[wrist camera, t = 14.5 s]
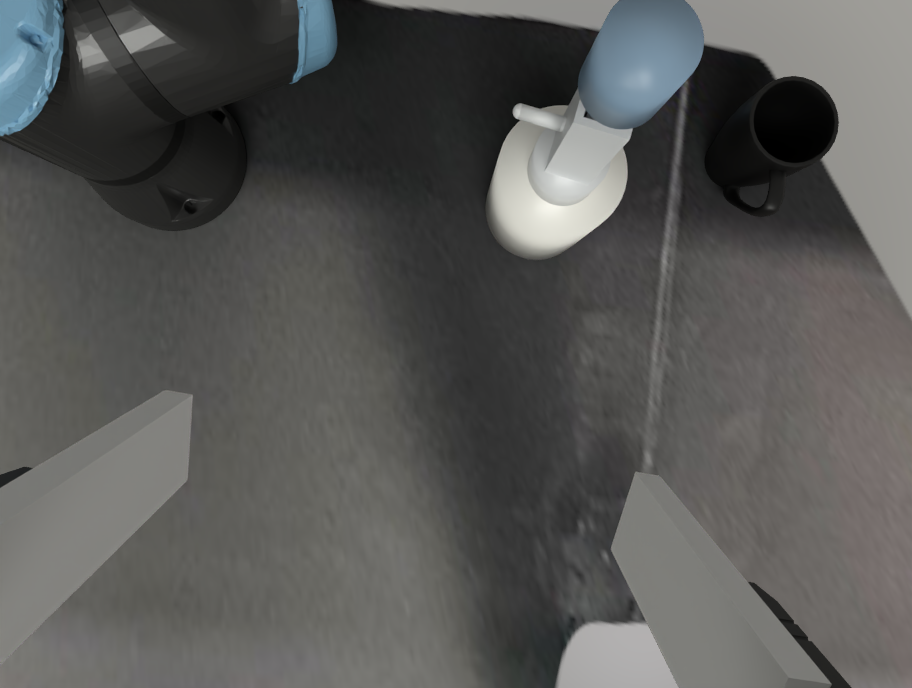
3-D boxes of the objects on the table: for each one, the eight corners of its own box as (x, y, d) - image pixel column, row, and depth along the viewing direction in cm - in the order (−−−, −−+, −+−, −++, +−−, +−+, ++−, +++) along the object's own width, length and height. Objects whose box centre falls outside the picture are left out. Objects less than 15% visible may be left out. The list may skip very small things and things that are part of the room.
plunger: (535, 173, 36) (589, 73, 23) (553, 110, 36) (618, -25, 23) (598, 192, 36) (687, 104, 23) (616, 129, 36) (715, 6, 23)
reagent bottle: (472, 243, 51) (498, 162, 29) (501, 145, 51) (548, -10, 29) (571, 272, 51) (670, 215, 29) (599, 174, 51) (719, 43, 29)
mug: (677, 224, 51) (731, 196, 42) (701, 117, 51) (760, 65, 42) (750, 242, 52) (820, 218, 42) (773, 135, 52) (848, 87, 42)
